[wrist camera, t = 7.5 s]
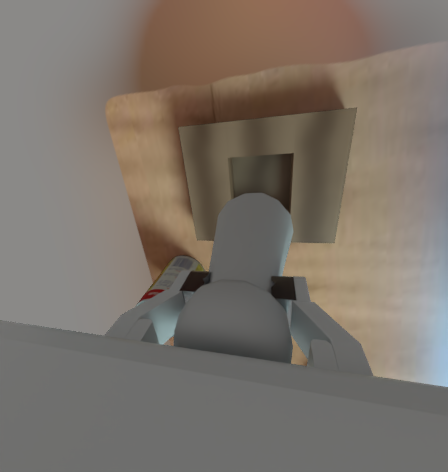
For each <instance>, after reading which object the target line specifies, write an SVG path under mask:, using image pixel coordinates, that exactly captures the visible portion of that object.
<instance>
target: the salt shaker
mask: <svg viewBox="0 0 448 472" xmlns="http://www.w3.org/2000/svg"><path fill="white" fill-rule="evenodd" d="M292 235H293V226H292V220H291V215H290V214H289V212H288V211H287V210H286V209H285V208H284V206H283V205H282V204H281V203H280V202H279V200H277V199H275V198H272V197H270V196H268V195H266V194H264V193H245V194H242V195H240V196H238V197H236V198H234V199H232V200H230V201H228V202H227V203H226V205H225V206H224V208H223V209H222V210H221V212H220V213H219V215H218V220H217V226H216V232H215V238H214V244H213V250H212V256H211V262H210V268H209V272H211V275H210V282H209V284H206V285H202V286H201V287H200V288H198V289H197V290H196V292H195V293H194V294H193V295H192V296H191V298H190V299H189V300H188V301H187V302H186V304H185V306H184V307H183V309H182V310H181V312H180V314H179V316H178V320H177V323H176V327H175V330H174V346H176V347H183V348H189V349H196V350H203V351H209V352H216V353H223V354H229V355H236V356H243V357H249V358H256V359H263V360H269V361H276V362H283V363H289V364H291V357H292V349H293V345H292V339H291V332H290V327H289V323H288V318H287V314H286V311H285V310H284V308H283V306H282V305H281V304H280V303H279V302H278V301H277V300H276V299H275V298H274V297H273V296H272V295H271V287H272V286H273V285H272V283H271V276H282V273H283V269H284V265H285V261H286V258H287V254H288V250H289V246H290V243H291V239H292Z"/></svg>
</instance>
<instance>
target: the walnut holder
mask: <svg viewBox="0 0 448 472" xmlns="http://www.w3.org/2000/svg"><path fill="white" fill-rule="evenodd" d="M356 112H357V108H348V109H339V110H330V111H321V112H312V113H303V114H294V115H285V116H275V117H266V118H257V119H248V120H239V121H230V122H221V123H212V124H203V125H194V126H185V127H178V129H179V135H180V141H181V147H182V153H183V159H184V165H185V171H186V177H187V183H188V189H189V195H190V201H191V208H192V214H193V220H194V226H195V232H196V238H197V240H207V241H214V238H215V232H216V226H217V220H218V215H219V213H220V212H221V210H222V209H223V208H224V206H225V205H226V203H227V202H228V201H230V200H232V199H234V198H236V197H238V196H240V195H242V194H245V193H264V194H266V195H268V196H270V197H272V198H275V199H277V200H279V202H280V203H281V204H282V205H283V206H284V208H285V209H286V210H287V211H288V212H289V214H290V215H291V220H292V226H293V235H292V239H291V242H301V243H335V237H336V231H337V225H338V219H339V213H340V207H341V201H342V195H343V189H344V183H345V177H346V171H347V165H348V159H349V153H350V147H351V142H352V136H353V130H354V124H355V118H356Z"/></svg>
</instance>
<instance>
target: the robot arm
mask: <svg viewBox="0 0 448 472" xmlns="http://www.w3.org/2000/svg"><path fill="white" fill-rule="evenodd" d="M210 275H211V272H207V271H194V270H182V271H181V272H180V273H179V275H178V276H177V278H176V279H175V281H174V283H173V284H172V286H171V287H170V289H169V290H165V291H163V292H161V293H159V294H157V295H156V296H154V297H152V298H150V299H149V300H147V301H145V302H143V303H141V304H140V305H138V306H136V307H135V308H133V309H131V310H129V311H127V312H125V313H124V314H122V315H121V316H120V317H119V318H118V320H117V321H116V322H115V323H114V324H113V326H112V327H111V328H110V329H109V330H108V332H107V333H106V334H105V335H104V336H102V335H96V334H88V333H82V332H76V331H69V330H62V329H56V328H49V327H42V326H36V325H29V324H22V323H15V322H9V321H2V320H0V472H448V387H443V386H436V385H429V384H423V383H416V382H409V381H403V380H396V379H389V378H383V377H376V376H373V373H372V371H371V368H370V366H369V364H368V361H367V359H366V356H365V354H364V351H363V349H362V346H361V344H360V343H359V342H358V341H357V340H356V339H355V338H353V337H352V336H351V335H350V334H349V333H348V332H347V331H346V330H345V329H343V328H342V327H341V326H340V325H339V324H338V323H337V322H336V321H334V320H333V319H332V318H331V317H330V316H329V315H328V314H327V313H326V312H324V311H323V310H322V309H321V308H320V307H319V306H318V305H317V304H316V303H314V302H311V301H310V296H309V292H308V287H307V283H306V278H305V277H286V276H271V283H272V285H273V286H272V287H271V295H272V296H273V297H274V298H275V299H276V300H277V301H278V302H279V303H280V304H281V305H282V306H283V308H284V310H285V311H286V314H287V318H288V323H289V327H290V332H291V335H292V337H293V338H294V340H295V341H296V343H297V344H298V346H299V347H300V349H301V350H302V351H303V353H304V354H305V356H306V357H307V359H308V362H307V366H302V365H296V364H289V363H283V362H276V361H269V360H263V359H256V358H249V357H243V356H236V355H229V354H223V353H216V352H209V351H203V350H196V349H189V348H183V347H176V346H169V345H163V344H164V343H165V342H166V341H167V340H168V339H169V338H171V337H172V336H173V335H174V330H175V327H176V323H177V320H178V316H179V314H180V312H181V310H182V309H183V307H184V306H185V304H186V302H187V301H188V300H189V299H190V298H191V296H192V295H193V294H194V293H195V292H196V290H197V289H198V288H200V287H201V286H202V285H206V284H209V282H210Z"/></svg>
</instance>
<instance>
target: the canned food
mask: <svg viewBox="0 0 448 472" xmlns="http://www.w3.org/2000/svg"><path fill="white" fill-rule="evenodd" d="M182 270H194V271H205V270H204V268H203V266H202V265H201V264H200V263H199V262H198V261H197V260H195V259H193V258H191V257H188V256H177V257H175V258H173V259H172V260H171V261H170V262H169V264H168V265H167V266H166V267H165V269H164V270H163V271H162V273H161V274H160V275H159V276H158V278H157V279H156V280H155V282H154V283H153V284H152V286H151V287H150V288H149V289H148V291H147V292H146V293H145V295H144V296H143V297H142V298H141V300H140V301H139V302H138V304H137V305H136V306H138V305H140V304H141V303H143V302H145V301H147V300H149V299H150V298H152V297H154V296H156V295H157V294H159V293H161V292H163V291H165V290H169V289H170V287H171V286H172V284H173V283H174V281H175V279H176V278H177V276H178V275H179V273H180V272H181V271H182ZM136 306H135V307H136ZM173 336H174V335H173ZM173 336H172V337H173Z"/></svg>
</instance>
